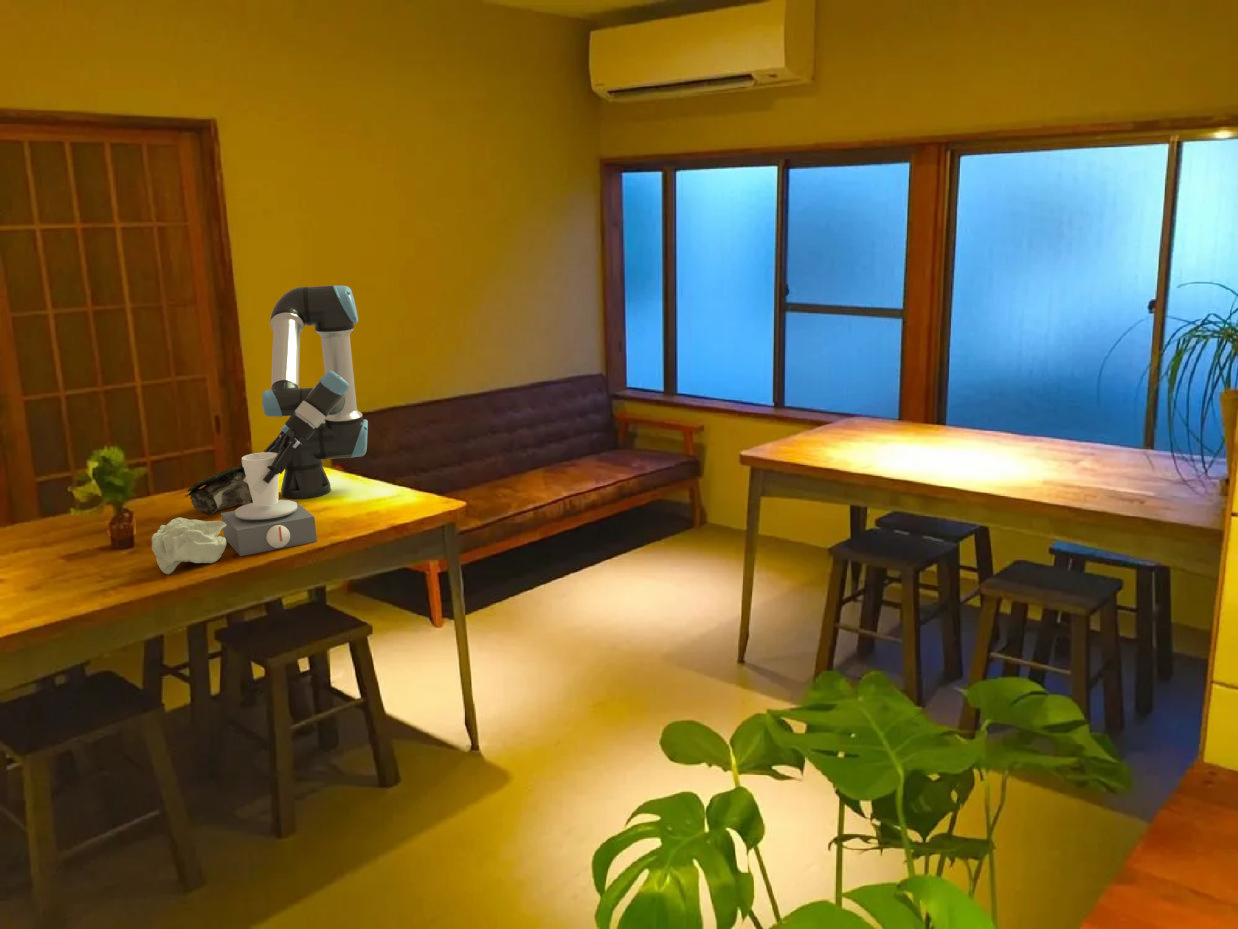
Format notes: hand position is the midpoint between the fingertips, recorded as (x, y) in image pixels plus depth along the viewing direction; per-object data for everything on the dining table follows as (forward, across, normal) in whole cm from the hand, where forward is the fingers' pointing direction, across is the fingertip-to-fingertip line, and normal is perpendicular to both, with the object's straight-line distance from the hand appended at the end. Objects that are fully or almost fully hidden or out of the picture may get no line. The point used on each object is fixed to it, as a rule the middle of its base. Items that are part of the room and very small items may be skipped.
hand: (251, 487), depth 275 cm
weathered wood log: (+11, +43, -12) cm, 46 cm away
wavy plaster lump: (+24, -9, +2) cm, 26 cm away
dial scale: (+9, 0, -13) cm, 16 cm away
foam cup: (+1, 0, -6) cm, 6 cm away
